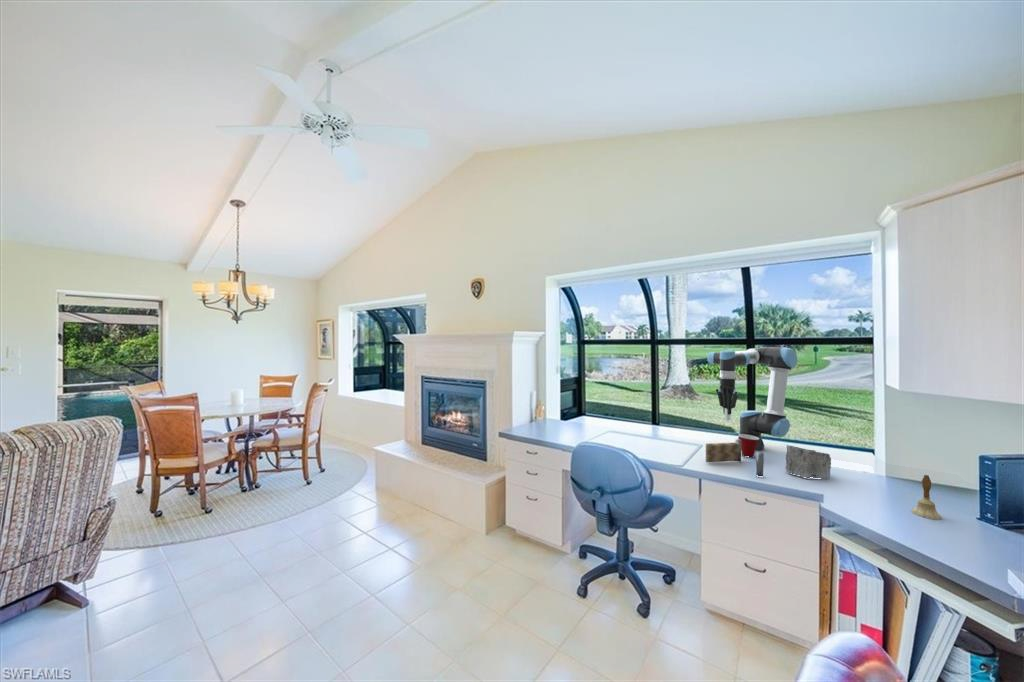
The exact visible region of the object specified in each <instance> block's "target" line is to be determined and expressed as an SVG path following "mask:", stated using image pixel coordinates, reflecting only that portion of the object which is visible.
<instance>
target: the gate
mask: <svg viewBox="0 0 1024 682" xmlns="http://www.w3.org/2000/svg"><path fill="white" fill-rule="evenodd" d="M737 461H739V443H738V442H735V441H734V442H716V443H715V442H713V443H710V442H709V443H705V462H706V463H723V462H726V463H727V462H737Z"/></svg>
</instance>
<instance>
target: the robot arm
mask: <svg viewBox="0 0 1024 682" xmlns="http://www.w3.org/2000/svg"><path fill="white" fill-rule="evenodd" d="M706 357H707V359H706V360H707V362H708V364H711V365H718V366H719V388H716V389H715V391H716V393H717V398H718V403H719V406H720V407H722V408H723V410H722V411H723V414H724V421H731V415H732V409H736V405H737V400H738V397H739V395H740V391H738V390H737V389H736V387H735V386H736V367H746V366H748V365H749V364H752V365H754V364H756V365H764V366H768V367H767V368H768V369H769V371H770V375H769V386H768V393H767V402H766V409H765V410H763V411H760V410H742V411H741V412H740V415H739V434H746V435H751V436H755V437H758V438H759V440H758V442H757V445H756V449H755V451H763V450H764V449H765V444H764V441H763V438H762V434H763V435H768V436H772V437H777V438H783V437H785V436H786V435H787V434H788V433H789V431H790V428H791V424H790V423H791V422H790V420H789V419H787V415H786V414H785V412H784V411H785V404H786V403H785V402H786V401H785V400H786V393H787V383H788V376H789V373H790V372H791V371H792V368H795V367H796V366H797V364H798V355H797V353H796V351H795V350H794V349H793V348H791V347H784V346H783V347H782V346H781V347H780V346H778V347H777V346H761V347H754V348H748V349H746V350H728V349H727V350H720V352H719V351H710V352H709V353H708V354H707V356H706ZM737 439H739V436H738V438H737Z"/></svg>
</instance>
